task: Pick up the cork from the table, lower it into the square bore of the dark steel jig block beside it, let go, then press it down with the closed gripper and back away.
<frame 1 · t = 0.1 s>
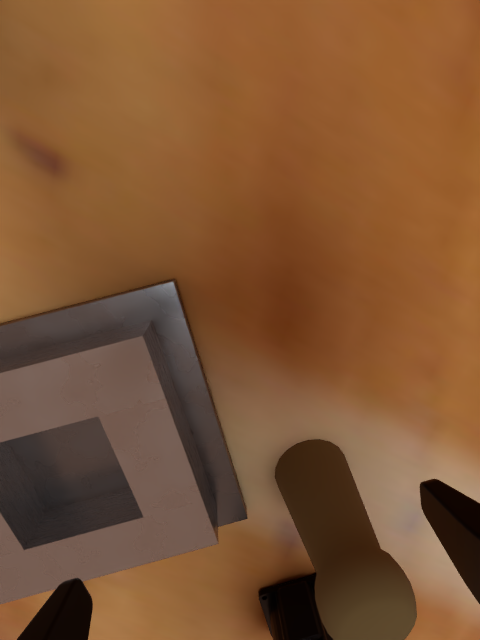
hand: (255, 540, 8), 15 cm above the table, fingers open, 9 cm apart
jig: (83, 443, 23), on the table
cork: (310, 468, 26), on the table
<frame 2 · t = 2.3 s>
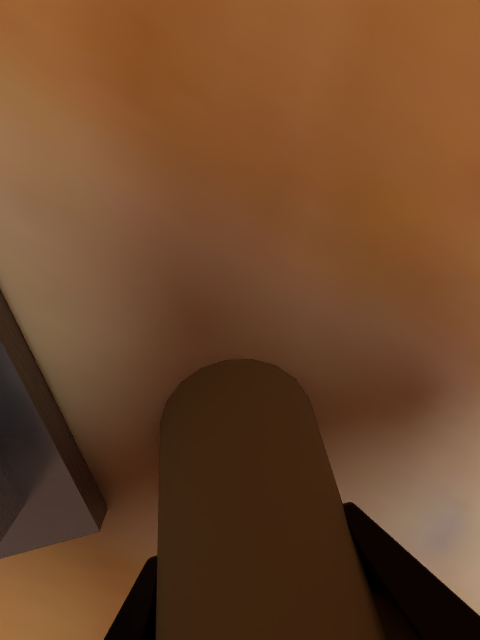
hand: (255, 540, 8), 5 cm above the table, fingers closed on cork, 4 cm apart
cork: (237, 426, 13), on the table, touching gripper
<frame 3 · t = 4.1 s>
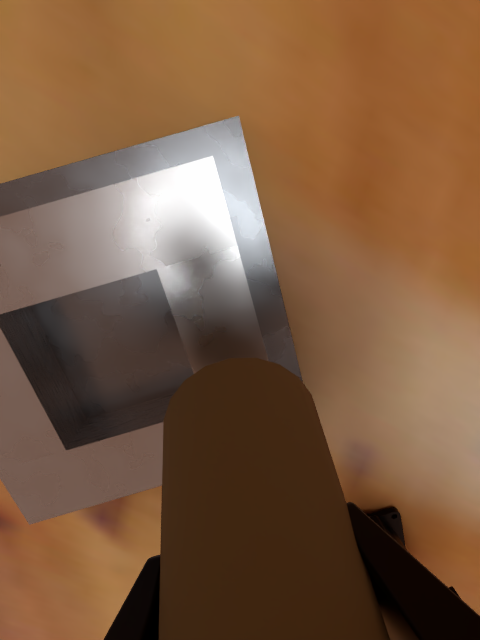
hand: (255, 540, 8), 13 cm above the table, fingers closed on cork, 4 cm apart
jig: (127, 339, 20), on the table
cork: (241, 424, 13), point 9 cm above the table, touching gripper
when the fingers open (7 cm above the table, at t = 6.0 s): cork drops 1 cm, resting on jig.
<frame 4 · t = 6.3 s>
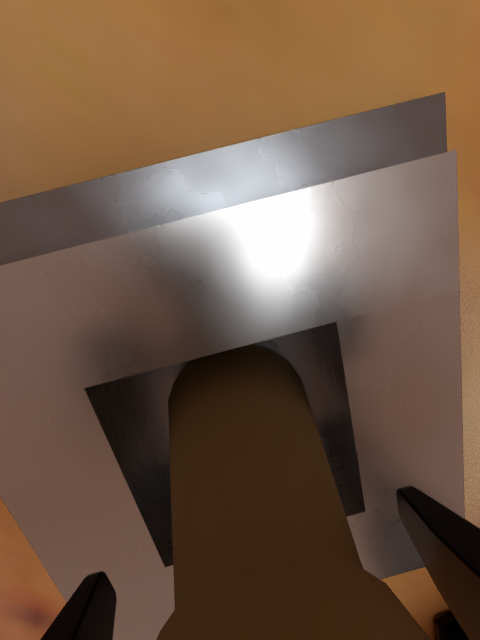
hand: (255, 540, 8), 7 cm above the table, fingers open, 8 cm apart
jig: (232, 396, 15), on the table
cork: (237, 405, 14), point 1 cm above the table, touching jig
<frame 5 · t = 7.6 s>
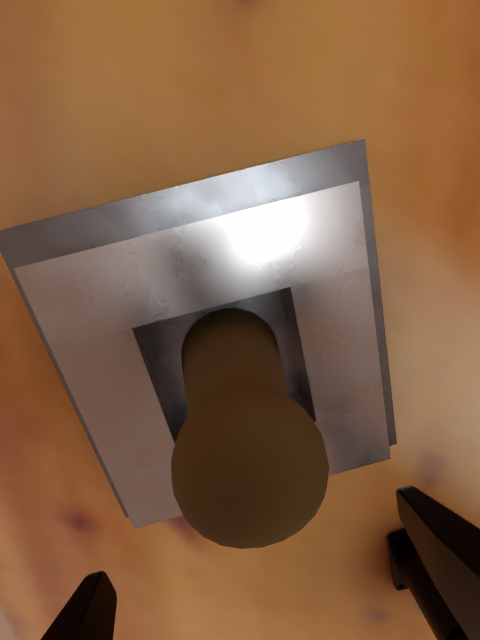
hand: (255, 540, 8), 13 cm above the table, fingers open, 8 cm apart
jig: (227, 349, 20), on the table
cork: (230, 353, 20), point 1 cm above the table, touching jig
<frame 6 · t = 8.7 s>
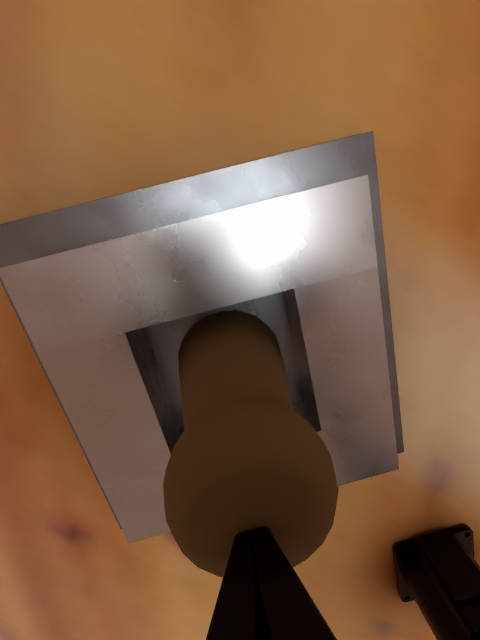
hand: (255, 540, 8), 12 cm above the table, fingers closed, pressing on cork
jig: (226, 353, 19), on the table
cork: (229, 358, 19), point 1 cm above the table, touching gripper, jig
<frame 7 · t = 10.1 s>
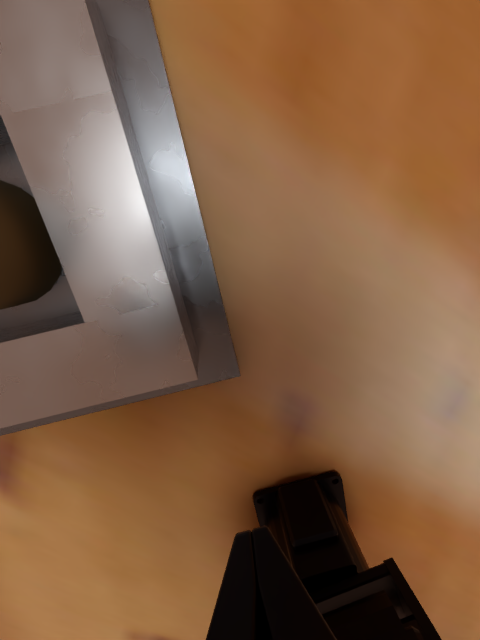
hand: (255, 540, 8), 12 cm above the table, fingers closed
jig: (6, 244, 16), on the table
cork: (0, 245, 15), point 1 cm above the table, touching jig
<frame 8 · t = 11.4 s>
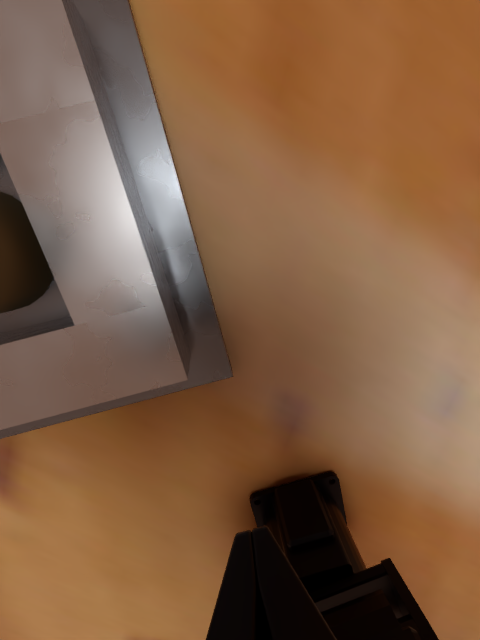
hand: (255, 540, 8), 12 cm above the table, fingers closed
jig: (0, 251, 17), on the table
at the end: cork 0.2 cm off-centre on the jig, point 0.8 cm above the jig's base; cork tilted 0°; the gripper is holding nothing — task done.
